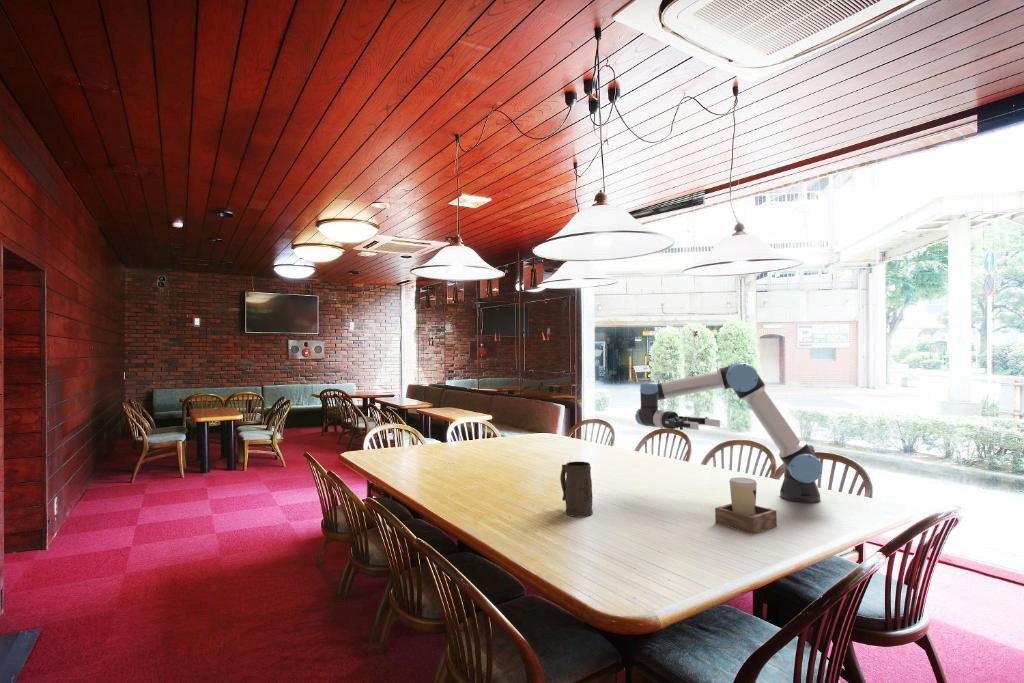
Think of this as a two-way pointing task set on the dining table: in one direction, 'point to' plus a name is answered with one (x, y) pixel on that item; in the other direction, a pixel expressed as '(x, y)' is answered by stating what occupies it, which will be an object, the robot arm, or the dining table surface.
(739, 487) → the coffee cup
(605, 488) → the dining table surface
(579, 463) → the beer stein
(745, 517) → the wooden tray
